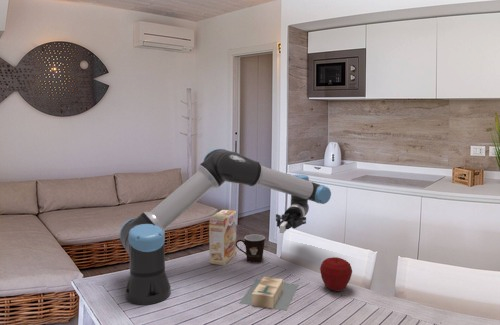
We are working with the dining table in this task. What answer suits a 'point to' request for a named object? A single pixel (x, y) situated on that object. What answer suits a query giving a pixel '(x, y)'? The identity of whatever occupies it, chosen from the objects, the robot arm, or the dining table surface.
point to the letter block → (267, 292)
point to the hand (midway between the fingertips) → (281, 229)
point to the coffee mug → (253, 247)
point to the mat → (282, 301)
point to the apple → (335, 273)
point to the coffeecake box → (222, 236)
